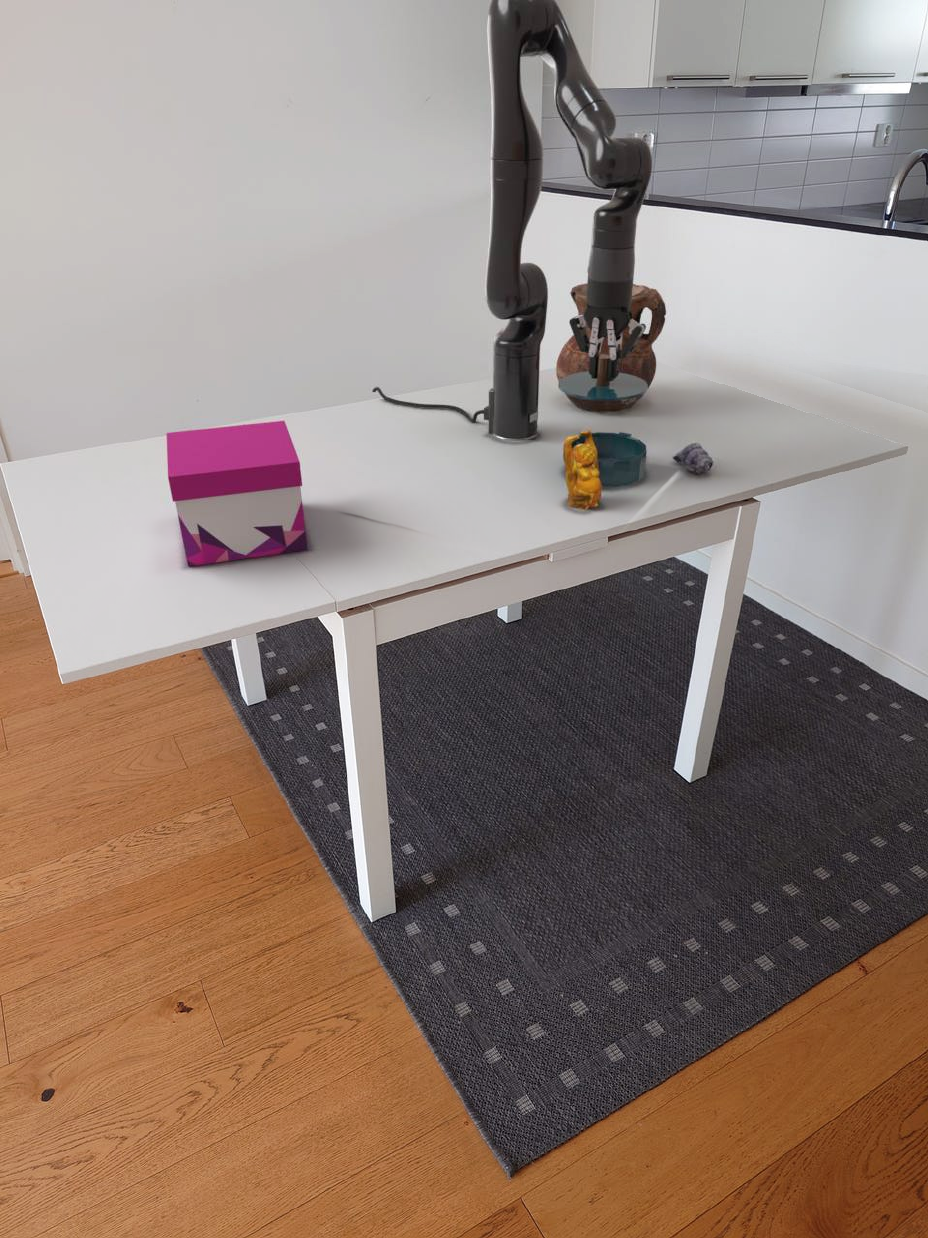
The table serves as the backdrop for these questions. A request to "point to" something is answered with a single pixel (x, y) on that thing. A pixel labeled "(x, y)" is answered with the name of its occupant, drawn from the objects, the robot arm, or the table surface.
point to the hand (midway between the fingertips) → (603, 378)
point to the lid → (602, 384)
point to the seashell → (694, 458)
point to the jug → (633, 364)
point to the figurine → (582, 472)
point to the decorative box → (236, 492)
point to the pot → (618, 458)
